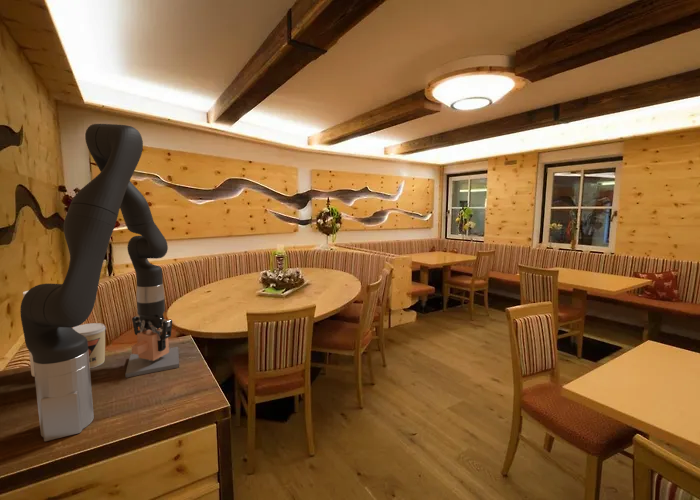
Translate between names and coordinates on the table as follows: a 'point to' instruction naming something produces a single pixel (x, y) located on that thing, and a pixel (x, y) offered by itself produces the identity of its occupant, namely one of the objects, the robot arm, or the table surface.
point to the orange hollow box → (149, 346)
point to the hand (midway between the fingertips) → (153, 348)
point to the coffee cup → (94, 342)
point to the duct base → (152, 363)
